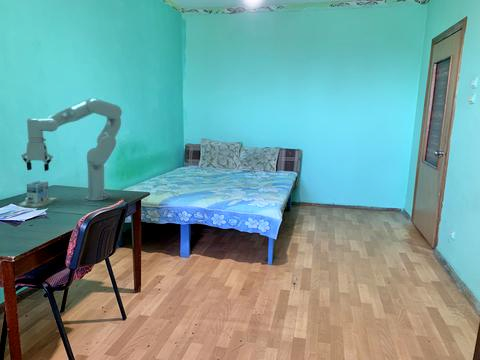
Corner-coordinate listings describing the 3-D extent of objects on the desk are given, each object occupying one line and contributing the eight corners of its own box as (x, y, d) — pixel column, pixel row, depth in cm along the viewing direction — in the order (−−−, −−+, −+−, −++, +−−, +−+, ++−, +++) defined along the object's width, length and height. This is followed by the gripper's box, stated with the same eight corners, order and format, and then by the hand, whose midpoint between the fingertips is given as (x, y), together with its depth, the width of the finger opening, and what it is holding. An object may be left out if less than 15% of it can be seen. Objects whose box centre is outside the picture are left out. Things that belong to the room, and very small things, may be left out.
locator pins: (51, 198, 222) (50, 192, 221) (36, 204, 206) (36, 198, 205) (40, 197, 221) (40, 191, 221) (25, 204, 206) (24, 198, 205)
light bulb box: (38, 203, 208) (37, 184, 206) (26, 202, 209) (25, 183, 207) (49, 198, 219) (48, 181, 217) (38, 198, 219) (37, 180, 217)
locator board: (58, 199, 223) (58, 197, 223) (42, 207, 205) (42, 205, 205) (35, 198, 223) (35, 196, 222) (17, 205, 205) (17, 203, 205)
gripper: (54, 140, 211) (56, 169, 214) (24, 139, 211) (26, 168, 214) (47, 141, 203) (49, 172, 207) (16, 140, 203) (19, 170, 207)
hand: (38, 170), depth 210 cm, fingers open, 9 cm apart
